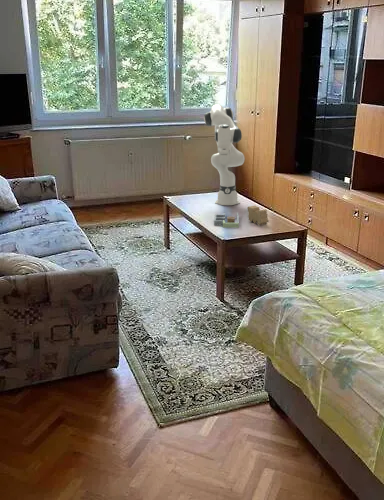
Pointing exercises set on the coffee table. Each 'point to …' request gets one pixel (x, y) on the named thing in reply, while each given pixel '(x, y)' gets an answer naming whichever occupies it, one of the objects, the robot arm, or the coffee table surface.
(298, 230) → the coffee table surface
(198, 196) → the coffee table surface
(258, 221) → the toy train
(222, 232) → the coffee table surface
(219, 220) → the trap lane
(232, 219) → the block
